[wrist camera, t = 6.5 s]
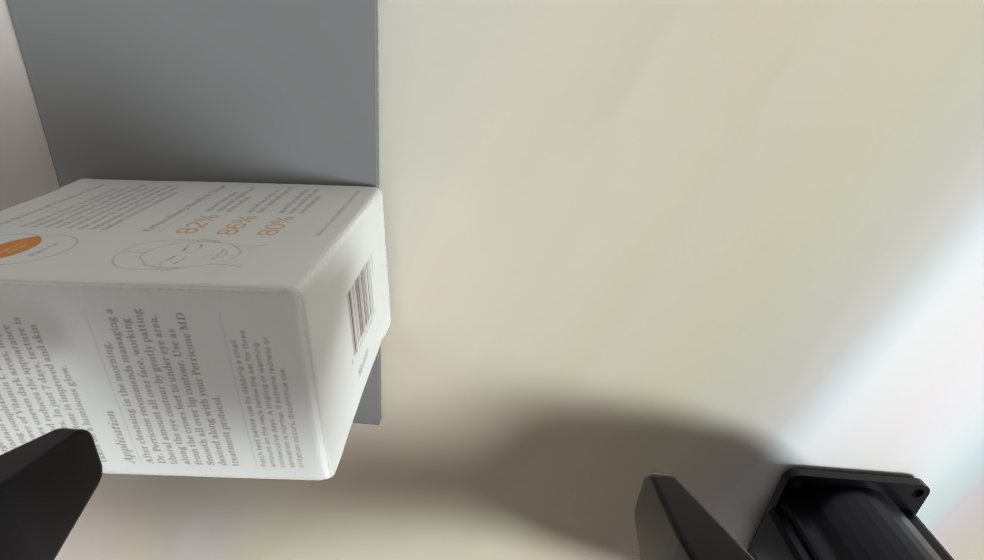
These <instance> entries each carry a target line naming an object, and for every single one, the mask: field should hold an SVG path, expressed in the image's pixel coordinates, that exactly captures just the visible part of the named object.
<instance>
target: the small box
mask: <svg viewBox="0 0 984 560" xmlns="http://www.w3.org/2000/svg"><path fill="white" fill-rule="evenodd" d="M390 323H391V315H390V299H389V285H388V271H387V257H386V243H385V228H384V214H383V195H382V190H381V189H380V188H377V187H363V186H334V185H306V184H274V183H239V182H200V181H147V180H112V179H80V180H77V181H75V182H73V183H70V184H68V185H65V186H63V187H61V188H59V189H57V190H55V191H52V192H49V193H47V194H44V195H41V196H39V197H36V198H34V199H31V200H28V201H25V202H23V203H20V204H17V205H14V206H12V207H9V208H6V209H3V210H0V455H2V454H4V453H6V452H8V451H10V450H12V449H14V448H17V447H19V446H21V445H23V444H25V443H27V442H29V441H32V440H34V439H36V438H38V437H40V436H42V435H44V434H46V433H49V432H51V431H53V430H55V429H59V428H73V429H84V430H88V431H89V432H90V433H91V434H92V436H93V439H94V442H95V445H96V448H97V451H98V454H99V457H100V460H101V463H102V467H103V472H102V473H108V474H140V475H165V476H197V477H228V478H261V479H290V480H325V479H329V478H331V477H333V475H334V474H335V472H336V469H337V467H338V464H339V461H340V459H341V456H342V453H343V450H344V446H345V443H346V440H347V437H348V434H349V431H350V428H351V425H352V422H353V419H354V416H355V413H356V410H357V407H358V404H359V401H360V399H361V396H362V393H363V390H364V387H365V384H366V382H367V379H368V376H369V374H370V371H371V368H372V366H373V363H374V361H375V358H376V356H377V353H378V350H379V348H380V345H381V343H382V340H383V339H384V337H385V334H386V332H387V330H388V328H389V326H390Z"/></svg>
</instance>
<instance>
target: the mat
mask: <svg viewBox="0 0 984 560" xmlns="http://www.w3.org/2000/svg"><path fill="white" fill-rule="evenodd" d="M7 3H8V7H9V10H10V14H11V17H12V21H13V24H14V28H15V31H16V34H17V38H18V41H19V45H20V48H21V52H22V55H23V59H24V62H25V66H26V69H27V73H28V76H29V80H30V83H31V87H32V90H33V94H34V97H35V101H36V104H37V108H38V111H39V115H40V118H41V122H42V125H43V129H44V132H45V136H46V139H47V143H48V146H49V150H50V153H51V157H52V160H53V164H54V167H55V171H56V174H57V178H58V181H59V185H60V188H61V187H63V186H65V185H68V184H70V183H73V182H75V181H77V180H80V179H112V180H147V181H200V182H239V183H274V184H306V185H334V186H363V187H377V188H379V128H378V14H377V0H7ZM380 420H381V355H380V348H379V350H378V353H377V356H376V358H375V361H374V363H373V366H372V368H371V371H370V374H369V376H368V379H367V382H366V384H365V387H364V390H363V393H362V396H361V399H360V401H359V404H358V407H357V410H356V413H355V416H354V419H353V422H352V423H363V424H375V425H379V423H380Z"/></svg>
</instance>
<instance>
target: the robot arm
mask: <svg viewBox="0 0 984 560" xmlns="http://www.w3.org/2000/svg"><path fill="white" fill-rule="evenodd" d="M102 472H103V467H102V463H101V460H100V457H99V454H98V451H97V448H96V445H95V442H94V439H93V436H92V434H91V433H90V432H89V431H88V430H84V429H73V428H59V429H55V430H53V431H51V432H49V433H46V434H44V435H42V436H40V437H38V438H36V439H34V440H32V441H29V442H27V443H25V444H23V445H21V446H19V447H17V448H14V449H12V450H10V451H8V452H6V453H4V454H2V455H0V560H54V559H55V558H56V556H57V554H58V552H59V551H60V549H61V547H62V546H63V544H64V542H65V540H66V539H67V537H68V535H69V534H70V532H71V530H72V529H73V527H74V525H75V523H76V522H77V520H78V518H79V517H80V515H81V513H82V511H83V510H84V508H85V506H86V505H87V503H88V501H89V499H90V498H91V496H92V494H93V493H94V491H95V489H96V487H97V486H98V484H99V482H100V479H101V477H102ZM929 492H930V489H929V487H928V486H927V485H926V484H925V483H924V482H923V481H922V480H921V479H917V478H907V477H895V476H882V475H870V474H858V473H845V472H833V471H821V470H808V469H790V470H788V471H786V472H785V473H784V474H783V475H782V477H781V480H780V482H779V484H778V486H777V488H776V491H775V493H774V495H773V497H772V499H771V501H770V504H769V506H768V508H767V510H766V512H765V515H764V517H763V519H762V521H761V523H760V526H759V528H758V530H757V532H756V534H755V536H754V539H753V541H752V543H751V545H750V547H749V550H748V552H747V551H746V550H745V549H744V548H743V547H742V546H741V545H740V544H739V543H738V542H737V541H736V540H735V539H734V538H733V537H732V536H731V535H730V534H729V533H728V531H727V530H726V529H725V528H724V527H723V526H722V525H721V524H720V523H719V522H718V521H717V520H716V519H715V518H714V517H713V516H712V515H711V514H710V513H709V512H708V511H707V510H706V509H705V508H704V507H703V505H702V504H701V503H700V502H699V501H698V500H697V499H696V498H695V497H694V496H693V495H692V494H691V493H690V492H689V491H688V490H687V489H686V488H685V487H684V486H683V485H682V484H681V483H680V482H679V481H678V479H677V478H675V477H674V476H672V475H670V474H660V473H648V474H647V475H646V476H645V478H644V481H643V485H642V488H641V491H640V495H639V498H638V501H637V505H636V510H635V523H636V530H637V537H638V544H639V550H640V557H641V560H954V559H953V558H952V557H951V556H950V554H949V553H948V552H947V551H946V550H945V549H944V547H943V546H942V545H941V544H940V543H939V542H938V540H937V539H936V538H935V537H934V536H933V535H932V533H931V532H930V531H929V530H928V529H927V528H926V526H925V525H924V524H923V523H922V522H921V521H920V519H919V518H918V517H917V516H916V513H917V512H918V510H919V509H920V507H921V506H922V504H923V503H924V501H925V499H926V498H927V496H928V495H929Z"/></svg>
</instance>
